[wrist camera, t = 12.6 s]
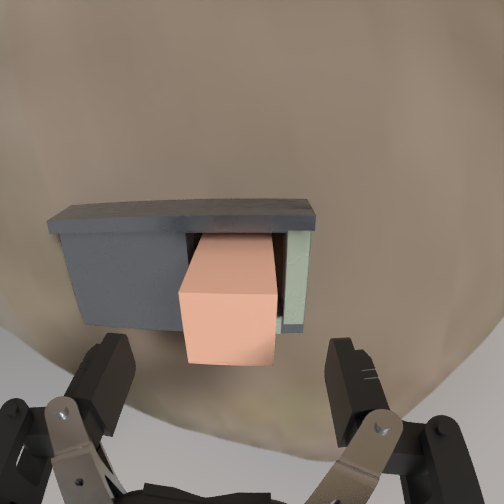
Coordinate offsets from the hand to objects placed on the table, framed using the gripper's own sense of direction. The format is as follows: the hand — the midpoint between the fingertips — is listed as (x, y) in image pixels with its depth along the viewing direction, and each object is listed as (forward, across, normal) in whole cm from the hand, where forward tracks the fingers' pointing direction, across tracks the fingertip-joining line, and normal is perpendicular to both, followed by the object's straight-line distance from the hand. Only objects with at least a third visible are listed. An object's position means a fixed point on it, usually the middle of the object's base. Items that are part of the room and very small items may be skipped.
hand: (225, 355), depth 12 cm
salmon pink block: (+9, 0, 0) cm, 9 cm away
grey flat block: (+9, +4, 0) cm, 9 cm away
